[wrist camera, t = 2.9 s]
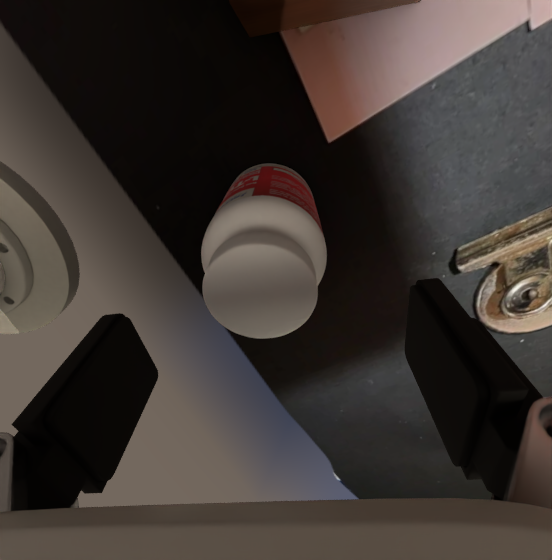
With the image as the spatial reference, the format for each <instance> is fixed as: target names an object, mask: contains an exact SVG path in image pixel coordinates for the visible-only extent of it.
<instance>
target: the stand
mask: <svg viewBox="0 0 552 560" xmlns="http://www.w3.org/2000/svg"><path fill="white" fill-rule="evenodd" d="M228 1H229V3H230V4H231V6H232V8H233V9H234V11H235V13H236V15H237V16H238V18H239V20H240V21H241V23H242V25H243V27H244V28H245V30H246V32H247V33H248V35H249V37H250V38H251V37H256V36H260V35H265V34H270V33H274V32H279V31H284V30H288V29H293V28H298V27H302V26H307V25H312V24H317V23H321V22H326V21H331V20H335V19H340V18H345V17H349V16H354V15H359V14H363V13H368V12H373V11H378V10H382V9H387V8H392V7H396V6H401V5H406V4H410V3H415V2H420V1H421V0H228Z"/></svg>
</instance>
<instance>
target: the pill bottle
mask: <svg viewBox="0 0 552 560" xmlns="http://www.w3.org/2000/svg"><path fill="white" fill-rule="evenodd" d="M201 258H202V265H203V269H204V272H205V275H204V278H203V286H202V291H203V297H204V301H205V304H206V306H207V308H208V309H209V311H210V313H211V314H212V316H213V317H214V318H215V319H216V320H217V321H218V322H219V323H220V324H221V325H223V326H224V327H226V328H227V329H229V330H231V331H233V332H235V333H237V334H240V335H243V336H247V337H251V338H274V337H279V336H283V335H286V334H288V333H290V332H292V331H294V330H296V329H297V328H299V327H300V326H301V325H303V324H304V323H305V322H306V321H307V320H308V318H309V317H310V316H311V314H312V312H313V310H314V308H315V305H316V302H317V296H318V288H317V286H318V284H319V282H320V281H321V279H322V277H323V274H324V271H325V267H326V258H327V252H326V244H325V240H324V235H323V232H322V227H321V224H320V220H319V216H318V213H317V209H316V206H315V202H314V198H313V195H312V192H311V190H310V188H309V186H308V185H307V183H306V181H305V180H304V179H303V178H302V177H301V176H300V175H299V174H298V173H297V172H295V171H294V170H292V169H290V168H288V167H286V166H283V165H279V164H273V163H266V164H259V165H256V166H253V167H251V168H249V169H247V170H245V171H244V172H243V173H241V174H240V175H239V176H238V177H237V178H236V179H235V181H234V182H233V184H232V185H231V187H230V189H229V190H228V192H227V194H226V196H225V197H224V199H223V201H222V203H221V204H220V206H219V208H218V210H217V211H216V213H215V215H214V217H213V219H212V220H211V222H210V224H209V226H208V228H207V230H206V233H205V235H204V239H203V243H202V249H201Z"/></svg>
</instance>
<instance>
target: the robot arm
mask: <svg viewBox="0 0 552 560" xmlns="http://www.w3.org/2000/svg"><path fill="white" fill-rule="evenodd" d="M32 286H33V273H32V267H31V263H30V261H29V258H28V256H27V254H26V251H25V250H24V248H23V246H22V245H21V243H20V242H19V240H18V238H17V237H16V236H15V235H14V233H13V232H12V231H11V230H10V229H9V227H8V226H7V225H6V224H5V223H4V222H3V221H2V220H1V219H0V315H4V314H6V313H8V312H10V311H12V310H14V309H15V308H16V307H18V306H19V305H20V304H21V303H23V302H24V301H25V299H26V298H27V297H28V296H29V294H30V291H31V289H32ZM405 355H406V359H407V361H408V363H409V366H410V368H411V370H412V372H413V375H414V377H415V379H416V382H417V384H418V386H419V388H420V391H421V393H422V395H423V397H424V400H425V402H426V404H427V406H428V409H429V411H430V413H431V416H432V418H433V420H434V422H435V425H436V427H437V429H438V431H439V434H440V436H441V438H442V440H443V443H444V445H445V447H446V450H447V452H448V454H449V456H450V459H451V461H452V462H453V464H454V465H455V466H461V468H462V470H463V472H464V474H465V476H466V479H467V480H473V479H482V480H483V482H484V484H485V486H486V488H487V490H488V491H489V492H491V493H492V496H491V500H480V499H457V498H439V499H357V500H356V499H355V500H317V501H316V500H314V501H273V502H239V503H207V504H206V503H205V504H173V505H142V506H114V507H86V508H79V506H78V498H77V497H78V495H79V493H80V491H81V490H82V491H83V492H84V493H102V491H103V489H104V487H105V485H106V483H107V481H108V480H110V479H111V478H112V476H113V475H114V473H115V471H116V469H117V466H118V464H119V462H120V460H121V458H122V456H123V453H124V451H125V449H126V447H127V445H128V442H129V440H130V438H131V436H132V434H133V432H134V429H135V427H136V425H137V423H138V421H139V419H140V416H141V414H142V412H143V410H144V408H145V405H146V403H147V401H148V399H149V397H150V395H151V392H152V390H153V388H154V386H155V384H156V381H157V379H158V370H157V368H156V366H155V364H154V363H153V361H152V359H151V357H150V355H149V353H148V351H147V350H146V348H145V346H144V344H143V342H142V340H141V339H140V337H139V335H138V333H137V331H136V329H135V327H134V326H133V324H132V322H131V320H130V319H129V318H128V317H125V316H124V315H123V314H112V315H104V316H102V318H100V319H99V321H98V322H97V323H96V324H95V325H94V327H93V328H92V329H91V330H90V331H89V333H88V334H87V335H86V336H85V337H84V339H83V340H82V341H81V342H80V344H79V345H78V346H77V347H76V348H75V349H74V351H73V352H72V353H71V354H70V355H69V357H68V358H67V359H66V360H65V361H64V363H63V364H62V365H61V366H60V367H59V368H58V370H57V371H56V372H55V373H54V375H53V376H52V377H51V378H50V379H49V380H48V382H47V383H46V384H45V385H44V387H43V388H42V389H41V390H40V391H39V392H38V394H37V395H36V396H35V397H34V398H33V400H32V401H31V402H30V403H29V404H28V406H27V407H26V408H25V409H24V411H23V412H22V413H21V414H20V415H19V416H18V418H17V419H16V420H15V421H14V422H13V424H12V425H13V426H14V427H15V428H16V429H17V430H18V433H17V434H16V435H15V436H14V437H13V436H12V435H11V434H9V433H3V432H1V433H0V560H552V397H547V398H543V397H542V395H541V394H540V393H539V392H538V391H537V389H536V388H535V387H534V386H533V385H532V383H531V382H530V381H529V380H528V379H527V377H526V376H525V375H524V374H523V373H522V371H521V370H520V369H519V368H518V367H517V365H516V364H515V363H514V362H513V361H512V359H511V358H510V357H509V356H508V355H507V353H506V352H505V351H504V350H503V349H502V347H501V346H500V345H499V344H498V343H497V341H496V340H495V339H494V338H493V337H492V335H491V334H490V333H489V332H488V331H487V329H486V328H485V327H484V326H483V325H482V323H481V322H479V321H478V320H477V319H475V318H471V317H470V316H469V315H468V314H467V312H466V311H465V310H464V309H463V307H462V306H461V305H460V304H459V302H458V301H457V300H456V299H455V298H454V296H453V295H452V294H451V293H450V291H449V290H448V289H447V288H446V286H445V285H444V284H443V283H442V281H441V280H440V279H438V278H433V279H424V280H418V281H417V282H416V285H413V286H411V287H410V295H409V306H408V317H407V328H406V339H405Z"/></svg>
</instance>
